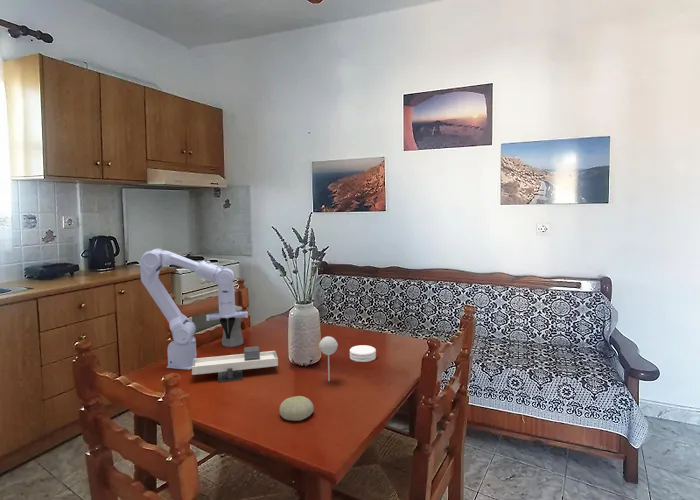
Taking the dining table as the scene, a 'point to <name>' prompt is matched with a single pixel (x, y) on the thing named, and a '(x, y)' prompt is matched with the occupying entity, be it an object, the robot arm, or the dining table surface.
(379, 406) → the dining table surface
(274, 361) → the beam
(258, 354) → the grey block
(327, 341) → the lollipop
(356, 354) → the coaster
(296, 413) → the sea urchin shell
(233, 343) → the coffeepot
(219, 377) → the stand
